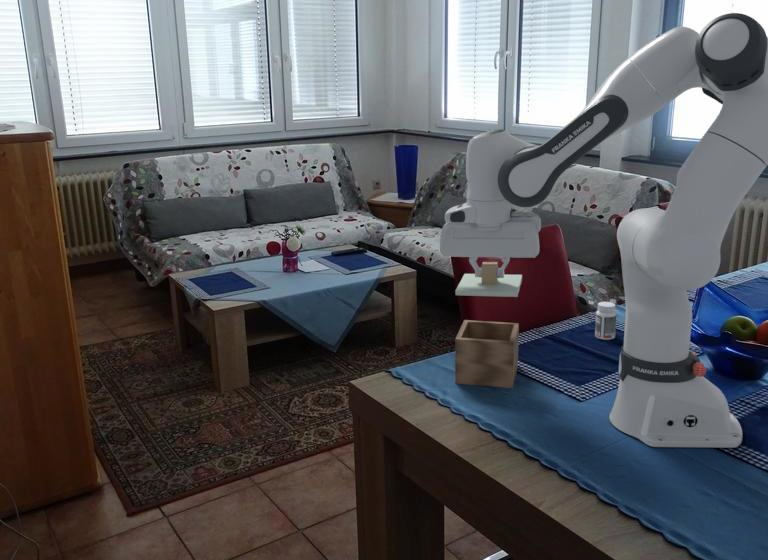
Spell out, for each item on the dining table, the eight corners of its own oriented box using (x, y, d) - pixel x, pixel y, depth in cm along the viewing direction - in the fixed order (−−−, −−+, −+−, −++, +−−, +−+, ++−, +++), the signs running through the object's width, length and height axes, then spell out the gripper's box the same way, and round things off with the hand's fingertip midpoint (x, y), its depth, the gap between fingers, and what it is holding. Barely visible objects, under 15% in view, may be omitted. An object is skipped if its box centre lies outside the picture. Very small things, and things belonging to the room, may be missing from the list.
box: (517, 365, 162) (518, 323, 159) (512, 388, 151) (513, 343, 148) (464, 361, 165) (464, 319, 162) (455, 383, 154) (455, 339, 151)
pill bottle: (617, 335, 178) (619, 302, 176) (612, 341, 174) (614, 308, 172) (598, 332, 180) (599, 300, 178) (592, 338, 177) (594, 305, 174)
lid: (522, 279, 156) (522, 256, 155) (517, 296, 145) (517, 272, 143) (464, 278, 159) (464, 255, 158) (455, 295, 148) (454, 271, 146)
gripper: (542, 208, 148) (541, 273, 152) (442, 208, 153) (444, 271, 157) (540, 214, 142) (539, 282, 146) (437, 214, 147) (439, 280, 151)
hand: (489, 277), depth 151 cm, fingers closed on lid, 3 cm apart
